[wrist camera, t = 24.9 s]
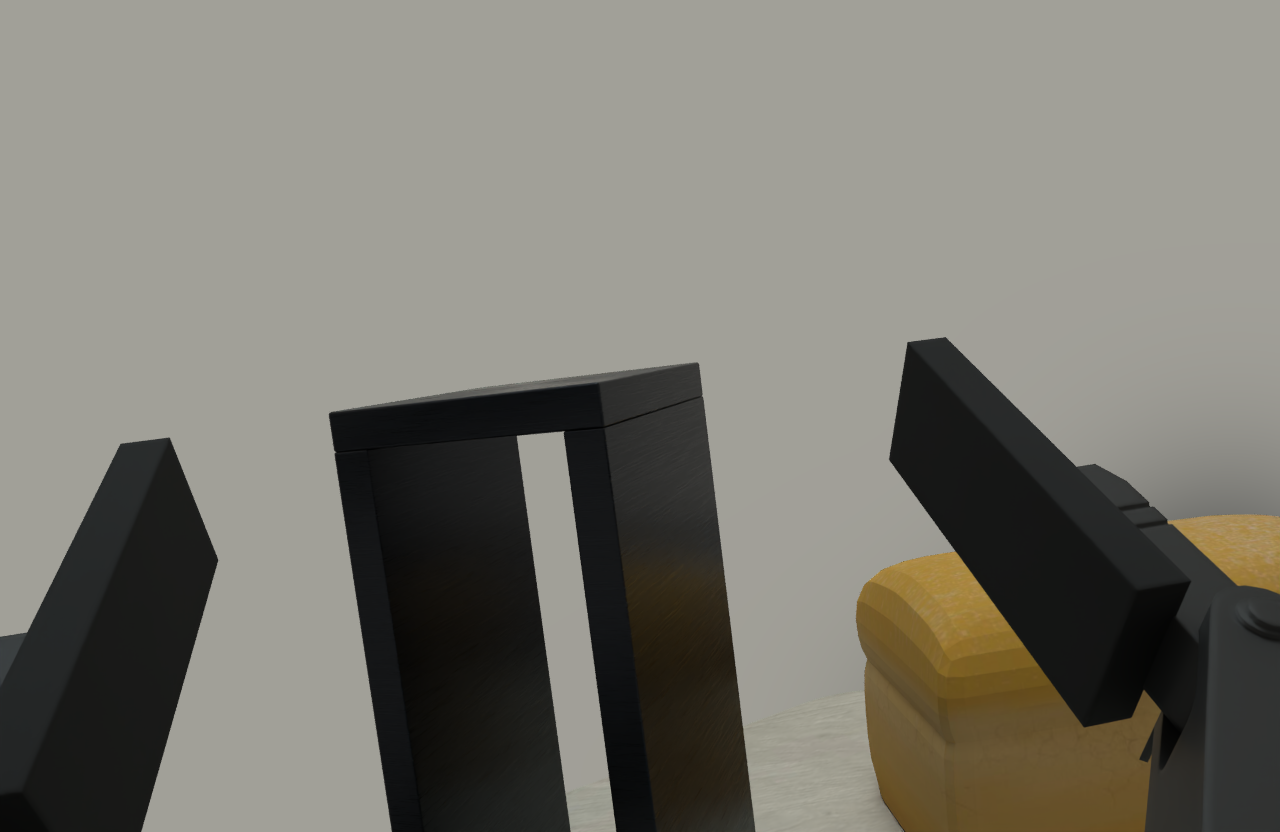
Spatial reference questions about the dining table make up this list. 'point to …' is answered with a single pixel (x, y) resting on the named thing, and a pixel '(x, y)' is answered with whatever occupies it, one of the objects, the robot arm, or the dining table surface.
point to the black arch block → (510, 611)
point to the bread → (1007, 702)
